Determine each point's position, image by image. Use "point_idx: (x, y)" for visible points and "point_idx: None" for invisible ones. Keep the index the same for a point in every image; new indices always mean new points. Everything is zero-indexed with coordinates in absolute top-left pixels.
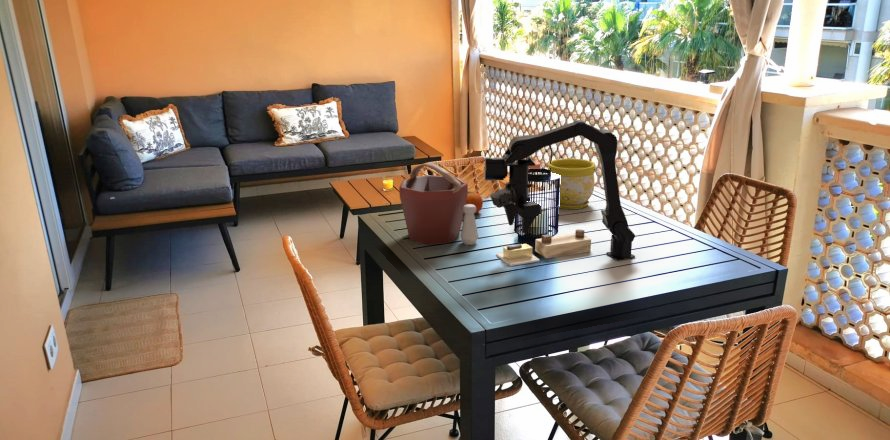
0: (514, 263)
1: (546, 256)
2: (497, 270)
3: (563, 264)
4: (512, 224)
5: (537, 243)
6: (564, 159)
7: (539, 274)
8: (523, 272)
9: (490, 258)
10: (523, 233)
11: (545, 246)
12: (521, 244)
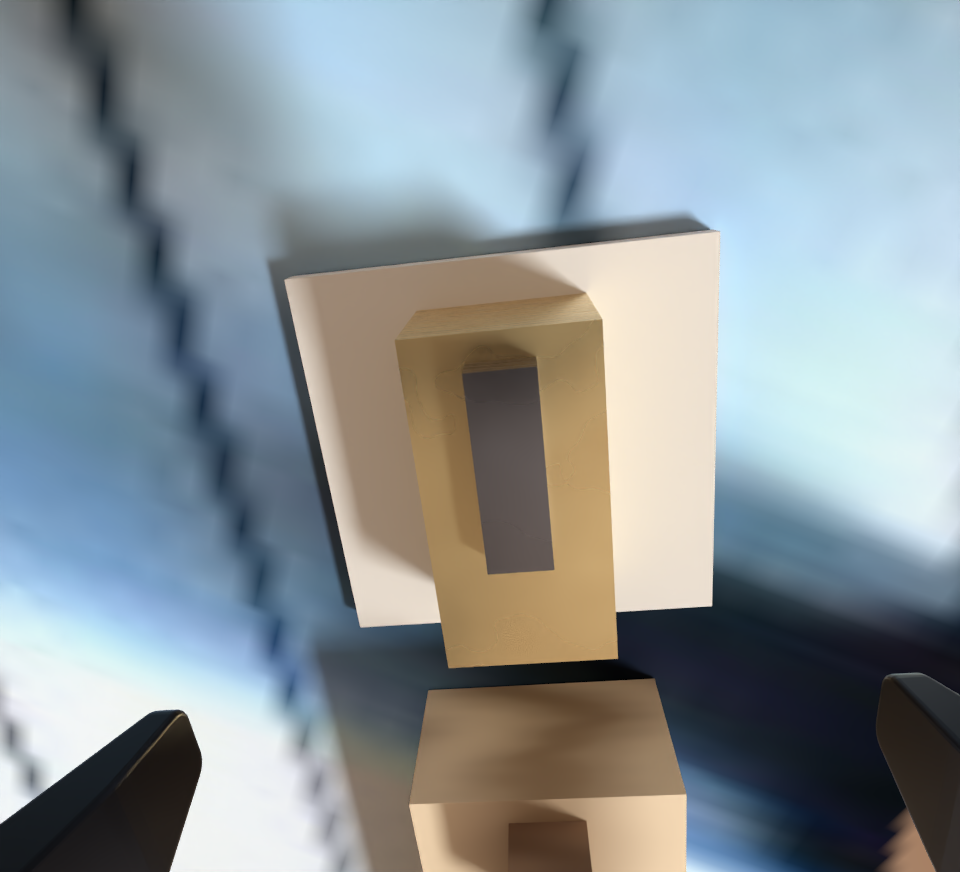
0: (301, 339)
1: (425, 708)
2: (175, 52)
3: (246, 752)
4: (880, 744)
5: (622, 764)
6: None
7: (16, 484)
8: (81, 352)
9: (636, 110)
10: (138, 721)
11: (429, 793)
12: (609, 594)
